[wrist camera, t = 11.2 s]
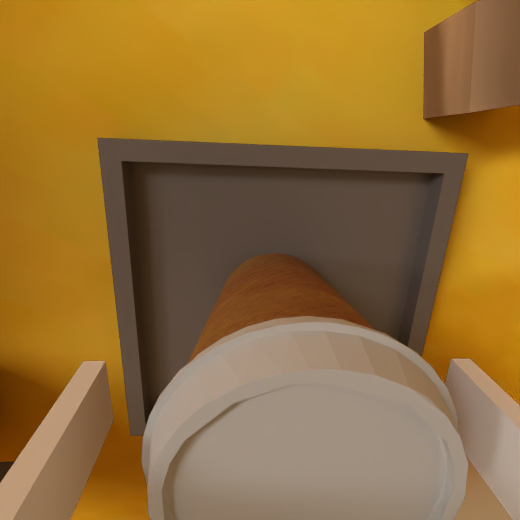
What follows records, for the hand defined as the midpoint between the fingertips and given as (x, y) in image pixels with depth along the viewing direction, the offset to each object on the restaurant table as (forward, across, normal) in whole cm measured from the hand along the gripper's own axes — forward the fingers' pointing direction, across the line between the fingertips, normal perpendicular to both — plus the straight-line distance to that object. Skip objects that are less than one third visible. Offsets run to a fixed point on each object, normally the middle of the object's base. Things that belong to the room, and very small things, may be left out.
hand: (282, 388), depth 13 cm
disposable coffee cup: (+8, 0, 0) cm, 8 cm away
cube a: (+9, +10, +13) cm, 18 cm away
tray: (+8, +1, 0) cm, 9 cm away
